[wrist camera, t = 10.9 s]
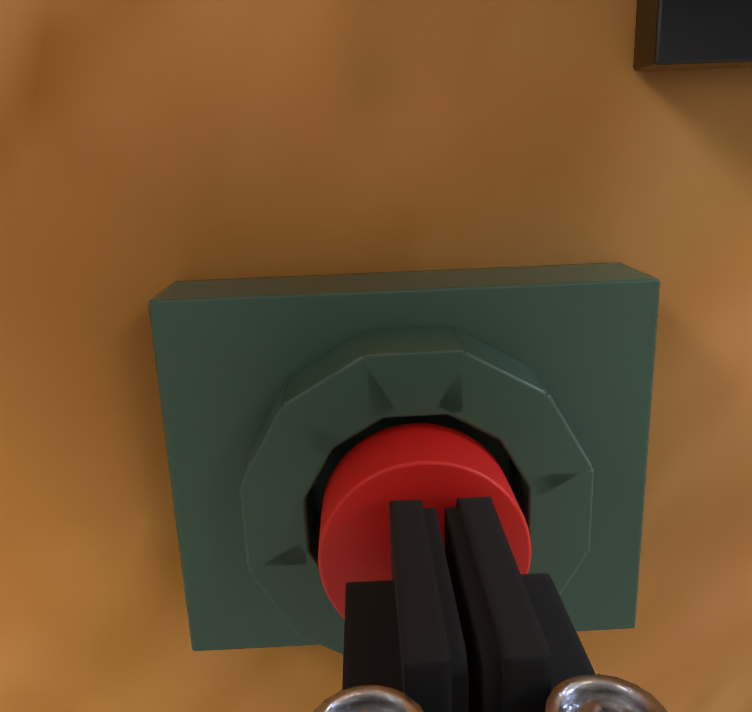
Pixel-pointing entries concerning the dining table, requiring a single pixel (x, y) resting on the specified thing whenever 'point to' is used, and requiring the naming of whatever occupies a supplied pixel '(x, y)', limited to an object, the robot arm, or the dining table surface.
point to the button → (405, 482)
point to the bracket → (693, 34)
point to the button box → (396, 407)
